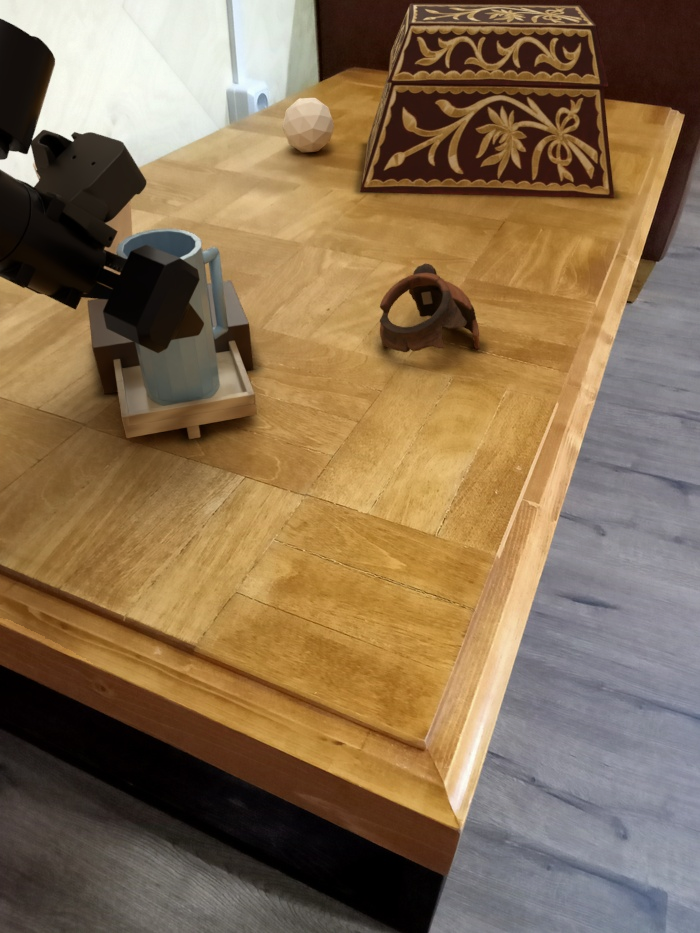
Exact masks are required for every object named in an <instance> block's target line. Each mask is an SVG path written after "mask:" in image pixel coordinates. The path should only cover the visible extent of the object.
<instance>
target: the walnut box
mask: <svg viewBox="0 0 700 933" xmlns="http://www.w3.org/2000/svg"><path fill="white" fill-rule="evenodd" d="M207 285H208V293H209V300H210V308H211V315H212V323H213V327H214V326H216V325H217V324H216V316H215V308H214V300H213V293H212V285H211V282H209V283H208V282H207ZM223 286H224V294H225V303H226V311H227V320H228V332H227V333H225V334H224V335H222V336H220V337H218V338H217V339H215V345H216V353H217V361H218V368H219V379H220V386H219V389H218V390H217V392H216V393H215V394H214V395H213V396H212V397H211V398H207V399H201V400H195V401H190V402H184V403H178V404H173V405H167V406H163V405H160V404H157V403H155V402H154V401H152V400H151V399H150V398H149V397H148V395H147V393H146V388H145V387H144V382H143V377H142V373H141V368H140V363H139V358H138V354H137V349H136V344H135V342H133V341H131V340H129V339H127V338H125V337H123V336H121V335H119V334H117V333H115V332H113V331H111V330H108V329H107V328H106V324H105V320H104V315H103V309H104V307H105V305H106V303H107V301H108V300H106V299H94V298H93V299H88V300H86V302H87V310H88V311H87V312H88V320H89V321H88V322H89V329H90V338H91V346H92V353H93V356H94V360H95V363H96V368H97V372H98V376H99V380H100V384H101V386H102V387H101V388H102V391H103V395H107V394H108V395H109V394H114V393H117V395H118V396H117V397H118V403H119V408H120V409H119V410H120V416H121V421H122V426H123V430H124V433H125V437H126V438H127V439H129V438H135V437H141V436H146V435H152V434H158V433H162V432H168V431H174V430H179V429H185V428H186V432H187V437H188V439H189V440H192V439H199V438H201V430H200V426H201V425H206V424H212V423H213V424H214V423H218V422H223V421H224V422H225V421H229V420H234V419H235V420H236V419H240V418H246V417H251V416H256V415H257V404H256V394H255V390H254V388H253V386H252V383H251V381H250V378H249V375H248V372H247V371H251V370H254V359H253V350H252V349H253V348H252V340H251V329H250V328H251V327H250V323H249V320H248V317H247V316H246V313H245V310H244V308H243V306H242V303H241V301H240V298H239V295H238V292H237V291H236V289H235V286H234V284H233V282H232V279H228V280H223Z"/></svg>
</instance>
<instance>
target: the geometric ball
mask: <svg viewBox="0 0 700 933" xmlns="http://www.w3.org/2000/svg"><path fill="white" fill-rule="evenodd" d="M334 125H335V122H334V118H333V117H332V114H331V111H330V108H329V106H327V105H326V104H324V103H323V102H322V101H320V100H319V99H318V98H316V97H302V98H297V99H296V100H295V101H294V103H292V104H291V105H290V106H289V107H287V109H285V113H284V117H283V122H282V130H283V132H284V135H285V138H286V140H287V143H288V144H289V145H290V146H292V147H293V148H295V149H296V150H298V151H299V152H301V153H314V152H319V151H320V150H321V149H322V148H324V147H325V146H326V145H327V144H328V143H329V142H330V141H331V139H332V136H333V134H334Z"/></svg>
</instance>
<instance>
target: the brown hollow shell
mask: <svg viewBox="0 0 700 933" xmlns="http://www.w3.org/2000/svg"><path fill="white" fill-rule="evenodd" d="M407 292H408V293H409V295H410V296H411V298H412V300H413V301H414V302H415V305H416V310H417V311H418V313H419V317H421V318H425V317H428V318H427V319H425V320H424V321H421V322H420V323H418V324H415V325H412V326H401V325H400V326H399V325H396V324H395V323H393V322H391V320H390V319H389V314H390V310H391V309H392V307H393V306H394V304H395V302H396V301H397V300H398V299H399V298H400V297H401V296H403V295H404V294H405V293H407ZM379 308H380V309H381V310H382V315H381V317H380V319H379V322H380V324H379V336H380V340H381V343H382V345H383V347H385V348H389V349H392V350H394V351H398V352H402V353H408V352H410V351H412V352H417V351H421V350H423V349H426V348H427V349H428V348H432V347H433V348H435V349H436V348H437V349H445V346H444V344H443V336H442V335H443V334H442V332H443V331H442V329H443V327H444V328H446V329H449V330H450V329H457V328H459V329H463V328H464V329H466V330H468V331H469V332H470V333H471V335H472V339H473V345H474V348H475V350H478V349H480V345H481V344H480V342H481V341H480V329H479V323H478V321H477V316H476V311H475V308H474V306H473V305H472V303H471V299H470V298H469V297H468V296H467V294H466V293H465V292H464V291H463V290H462V289H461V288H460V287H458V286H457V285H455V284H453V283H452V282H449V281H446V280H445V279H444V278H442V277H441V276H440V275H438V274H437V270H436V268H435V267H434V265H432V264H430V263H422V264H421V265H418V266H417V267H416V268H415V269H414V271H413V274H411V275H409V276H406V277H404V278H402V279H400V280H399V281H398V282H396V283H395V284H393V286H391V287H390V288H389V289H388V291H387V292H386V293H385V294H384V296H383V298H382V299H381V301H380V304H379Z"/></svg>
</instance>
